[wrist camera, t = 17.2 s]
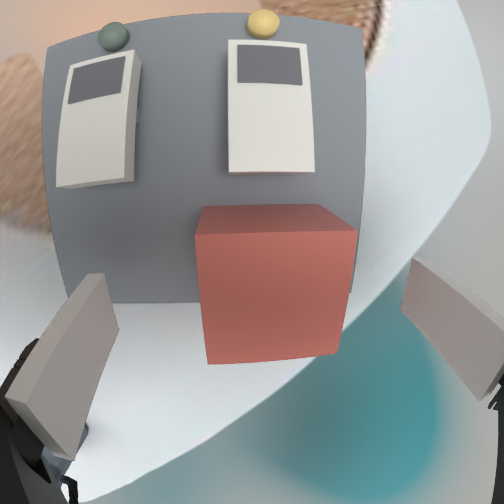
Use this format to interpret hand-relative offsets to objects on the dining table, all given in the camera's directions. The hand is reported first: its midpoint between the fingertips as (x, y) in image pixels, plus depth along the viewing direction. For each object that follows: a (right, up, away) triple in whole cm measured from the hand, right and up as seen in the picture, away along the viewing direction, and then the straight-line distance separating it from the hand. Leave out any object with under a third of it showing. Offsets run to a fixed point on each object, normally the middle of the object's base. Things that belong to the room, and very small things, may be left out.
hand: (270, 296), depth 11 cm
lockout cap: (0, +1, +5) cm, 6 cm away
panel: (-4, +8, +5) cm, 10 cm away
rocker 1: (-8, +8, 0) cm, 11 cm away
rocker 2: (0, +8, 0) cm, 8 cm away
